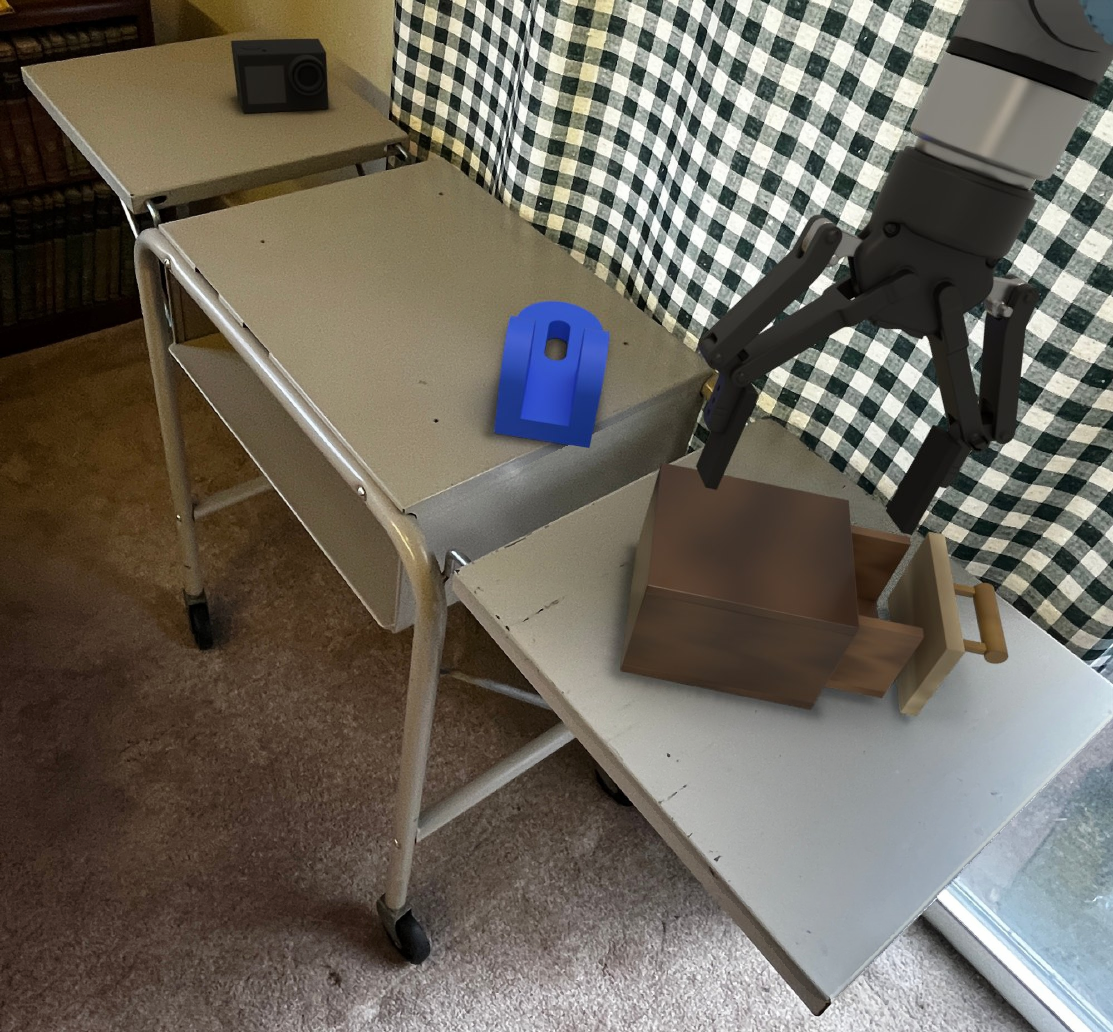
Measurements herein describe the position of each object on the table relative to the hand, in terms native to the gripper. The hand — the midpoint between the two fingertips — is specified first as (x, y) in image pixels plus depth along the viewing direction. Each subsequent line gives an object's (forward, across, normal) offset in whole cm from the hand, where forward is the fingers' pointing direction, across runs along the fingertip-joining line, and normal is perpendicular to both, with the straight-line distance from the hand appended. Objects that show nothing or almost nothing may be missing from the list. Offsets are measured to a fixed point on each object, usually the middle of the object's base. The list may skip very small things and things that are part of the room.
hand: (804, 501), depth 60 cm
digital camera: (+1, +44, -79) cm, 90 cm away
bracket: (+8, +11, -32) cm, 35 cm away
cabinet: (+14, -1, -4) cm, 14 cm away
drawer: (+11, -10, -2) cm, 16 cm away
